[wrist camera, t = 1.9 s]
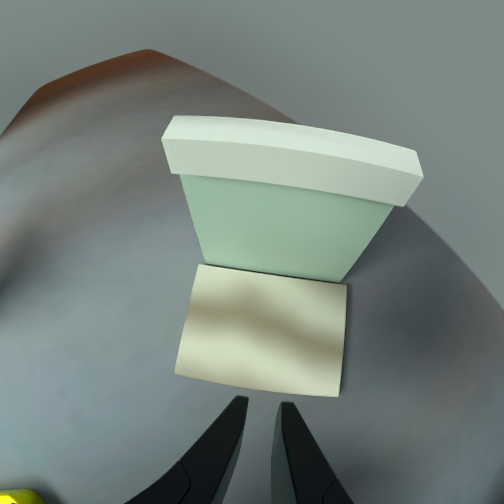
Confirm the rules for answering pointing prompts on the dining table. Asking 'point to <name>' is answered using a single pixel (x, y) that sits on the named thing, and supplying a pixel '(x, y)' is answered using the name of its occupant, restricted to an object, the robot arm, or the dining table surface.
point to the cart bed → (264, 332)
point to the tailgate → (286, 192)
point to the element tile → (20, 497)
